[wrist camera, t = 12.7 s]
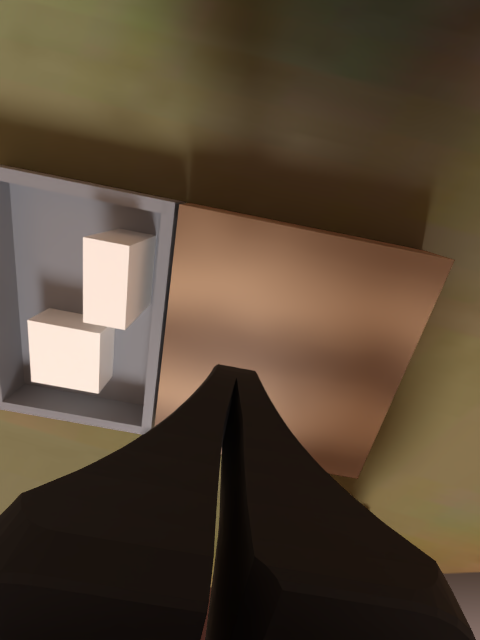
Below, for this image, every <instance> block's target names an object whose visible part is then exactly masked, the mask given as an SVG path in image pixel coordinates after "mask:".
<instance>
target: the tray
mask: <svg viewBox="0 0 480 640" xmlns="http://www.w3.org/2000/svg"><path fill="white" fill-rule="evenodd" d="M179 204H186V202H183V201H178V200H174V199H169V198H164V197H159V196H154V195H149V194H144V193H139V192H134V191H129V190H124V189H119V188H114V187H110V186H105V185H100V184H95V183H90V182H85V181H80V180H75V179H70V178H65V177H60V176H55V175H50V174H46V173H41V172H36V171H31V170H26V169H21V168H16V167H11V166H6V165H0V409H1V410H7V411H13V412H18V413H24V414H30V415H35V416H41V417H46V418H52V419H58V420H63V421H69V422H75V423H80V424H86V425H92V426H97V427H103V428H109V429H114V430H120V431H125V432H131V433H137V434H142V435H143V434H145V433H146V432H148V431H149V430H151V429H152V428H154V426H155V417H156V408H157V399H158V390H159V381H160V372H161V363H162V354H163V345H164V336H165V327H166V318H167V309H168V300H169V291H170V282H171V273H172V264H173V255H174V246H175V237H176V228H177V219H178V210H179ZM116 229H125V230H130V231H135V232H140V233H146V234H151V235H156V244H155V256H154V268H153V280H152V292H151V304H150V305H149V306H148V307H147V308H146V309H145V310H144V311H143V312H142V313H141V314H140V315H139V316H138V317H137V318H136V319H135V320H134V321H133V322H132V323H131V324H130V325H129V326H128V327H127V328H126V329H125V330H122V329H117V328H115V334H114V355H113V376H112V377H111V379H110V380H109V381H108V382H107V384H106V385H105V386H104V388H103V389H102V390H101V391H100V393H99V394H97V393H92V392H86V391H80V390H75V389H69V388H64V387H58V386H53V385H47V384H42V383H36V382H31V369H30V354H29V339H28V323H27V320H28V319H30V318H32V317H34V316H36V315H38V314H39V313H41V312H43V311H45V310H47V309H49V308H52V309H57V310H62V311H68V312H73V313H78V314H83V237H85V236H90V235H94V234H98V233H103V232H107V231H111V230H116Z"/></svg>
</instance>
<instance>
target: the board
mask: <svg viewBox="0 0 480 640" xmlns="http://www.w3.org/2000/svg"><path fill="white" fill-rule="evenodd" d="M454 261H455V260H453V259H450V258H447V257H443V256H440V255H437V254H434V253H430V252H427V251H424V250H420V249H415V248H410V247H405V246H400V245H395V244H390V243H385V242H380V241H375V240H370V239H365V238H361V237H356V236H351V235H346V234H341V233H336V232H331V231H326V230H321V229H316V228H311V227H306V226H301V225H297V224H292V223H287V222H282V221H277V220H272V219H267V218H262V217H257V216H252V215H247V214H242V213H238V212H233V211H228V210H223V209H218V208H213V207H208V206H203V205H198V204H193V203H187V204H179V210H178V219H177V228H176V237H175V246H174V255H173V264H172V273H171V282H170V291H169V300H168V309H167V318H166V327H165V336H164V345H163V354H162V363H161V372H160V381H159V390H158V399H157V408H156V417H155V426H156V425H158V424H159V423H160V422H162V421H163V420H164V419H165V418H167V417H168V416H169V415H170V414H172V413H173V412H174V411H175V410H176V409H177V408H178V407H179V406H181V405H182V404H183V403H184V402H185V401H186V400H187V399H188V398H189V397H190V396H191V395H192V394H193V393H194V392H195V391H196V390H197V389H198V388H199V386H200V385H201V384H202V383H203V382H204V381H205V379H206V378H207V377H208V376H209V374H210V373H211V371H212V370H213V368H214V366H216V365H217V364H220V365H226V366H231V367H237V368H242V369H248V370H253V371H256V373H257V374H258V376H259V378H260V381H261V383H262V385H263V387H264V389H265V390H266V392H267V394H268V396H269V398H270V400H271V401H272V403H273V405H274V406H275V408H276V409H277V411H278V413H279V414H280V416H281V417H282V419H283V420H284V422H285V423H286V425H287V426H288V428H289V429H290V431H291V432H292V433H293V435H294V436H295V437H296V438H297V440H298V441H299V442H300V443H301V444H302V446H303V447H304V448H305V449H306V450H307V451H308V453H309V454H310V455H311V456H312V457H313V458H314V459H315V460H316V462H317V463H318V464H319V465H320V466H321V467H322V468H323V469H324V470H325V471H326V472H327V473H328V474H334V475H339V476H345V477H351V478H356V479H358V477H359V474H360V472H361V470H362V468H363V465H364V463H365V461H366V459H367V456H368V454H369V452H370V450H371V447H372V445H373V443H374V441H375V438H376V436H377V434H378V432H379V429H380V427H381V425H382V423H383V420H384V418H385V416H386V414H387V411H388V409H389V407H390V405H391V402H392V400H393V398H394V396H395V393H396V391H397V389H398V387H399V384H400V382H401V380H402V378H403V375H404V373H405V371H406V369H407V366H408V364H409V362H410V360H411V357H412V355H413V353H414V351H415V348H416V346H417V344H418V342H419V339H420V337H421V335H422V333H423V330H424V328H425V326H426V324H427V321H428V319H429V317H430V315H431V312H432V310H433V308H434V306H435V303H436V301H437V299H438V297H439V294H440V292H441V290H442V288H443V285H444V283H445V281H446V279H447V276H448V274H449V272H450V270H451V267H452V265H453V263H454ZM155 426H154V427H155ZM221 455H222V449H221Z"/></svg>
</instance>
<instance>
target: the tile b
mask: <svg viewBox="0 0 480 640" xmlns="http://www.w3.org/2000/svg"><path fill="white" fill-rule="evenodd" d="M155 244H156V235H151V234H146V233H140V232H135V231H130V230H125V229H116V230H111V231H107V232H103V233H98V234H94V235H90V236H85V237H83V322H84V323H89V324H95V325H100V326H106V327H111V328H117V329H122V330H125V329H126V328H127V327H128V326H129V325H130V324H131V323H132V322H133V321H134V320H135V319H136V318H137V317H138V316H139V315H140V314H141V313H142V312H143V311H144V310H145V309H146V308H147V307H148V306H149V305H150V304H151V292H152V280H153V268H154V256H155Z"/></svg>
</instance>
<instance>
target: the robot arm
mask: <svg viewBox="0 0 480 640" xmlns="http://www.w3.org/2000/svg"><path fill="white" fill-rule="evenodd" d="M221 449H222V460H221V489H220V518H219V531H218V541H217V549H216V557H215V566H214V574H213V582H212V591H211V598H210V606H209V614H208V622H207V630H206V637H205V640H476V639H475V637H474V634H473V632H472V630H471V628H470V626H469V624H468V622H467V620H466V618H465V616H464V614H463V612H462V610H461V608H460V606H459V604H458V602H457V600H456V598H455V596H454V594H453V592H452V590H451V588H450V586H449V584H448V582H447V581H446V579H445V577H444V575H443V573H442V571H441V570H440V568H439V566H438V565H437V563H436V561H435V560H433V559H432V558H431V557H429V556H428V555H427V554H425V553H424V552H422V551H421V550H420V549H418V548H417V547H416V546H414V545H413V544H412V543H410V542H409V541H408V540H406V539H405V538H404V537H402V536H401V535H400V534H398V533H397V532H395V531H394V530H393V529H391V528H390V527H389V526H387V525H386V524H385V523H384V522H382V521H381V520H380V519H379V518H377V517H376V516H375V515H374V514H373V513H371V512H370V511H369V510H368V509H367V508H365V507H364V506H363V505H362V504H361V503H359V502H358V501H357V500H356V499H355V498H354V497H353V496H351V495H350V494H349V493H348V492H347V491H346V490H345V489H344V488H343V487H342V486H340V485H339V484H338V483H337V482H336V481H335V480H334V479H333V478H332V477H331V476H330V475H329V474H328V473H327V472H326V471H325V470H324V469H323V468H322V467H321V466H320V465H319V464H318V463H317V462H316V460H315V459H314V458H313V457H312V456H311V455H310V454H309V453H308V451H307V450H306V449H305V448H304V447H303V446H302V444H301V443H300V442H299V441H298V440H297V438H296V437H295V436H294V435H293V433H292V432H291V431H290V429H289V428H288V426H287V425H286V423H285V422H284V420H283V419H282V417H281V416H280V414H279V413H278V411H277V409H276V408H275V406H274V405H273V403H272V401H271V400H270V398H269V396H268V394H267V392H266V390H265V389H264V387H263V385H262V383H261V381H260V378H259V376H258V374H257V373H256V371H253V370H248V369H242V368H237V367H231V366H226V365H220V364H217V365H216V366H214V368H213V370H212V371H211V373H210V374H209V376H208V377H207V378H206V379H205V381H204V382H203V383H202V384H201V385H200V386H199V388H198V389H197V390H196V391H195V392H194V393H193V394H192V395H191V396H190V397H189V398H188V399H187V400H186V401H185V402H184V403H183V404H182V405H181V406H179V407H178V408H177V409H176V410H175V411H174V412H173V413H172V414H170V415H169V416H168V417H167V418H165V419H164V420H163V421H162V422H160V423H159V424H158V425H156V426H155V427H154V428H152V429H151V430H149V431H148V432H146V433H145V434H143V435H142V436H140V437H139V438H137V439H136V440H134V441H133V442H131V443H129V444H128V445H126V446H124V447H123V448H121V449H119V450H117V451H115V452H113V453H112V454H110V455H108V456H106V457H104V458H102V459H100V460H98V461H96V462H94V463H92V464H90V465H88V466H86V467H84V468H82V469H80V470H77V471H75V472H73V473H70V474H68V475H66V476H63V477H61V478H58V479H56V480H54V481H51V482H49V483H46V484H44V485H41V486H39V487H37V488H34V489H31V490H29V491H26V492H23V493H21V494H20V495H19V496H18V497H17V498H16V500H15V501H14V502H13V503H12V504H11V505H10V506H9V507H8V508H7V509H6V510H5V511H4V512H3V513H2V514H1V515H0V640H200V639H201V635H202V631H203V626H204V622H205V619H206V615H207V609H208V603H209V594H210V585H211V576H212V567H213V558H214V539H215V523H216V507H217V493H218V481H219V469H220V458H221Z"/></svg>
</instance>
